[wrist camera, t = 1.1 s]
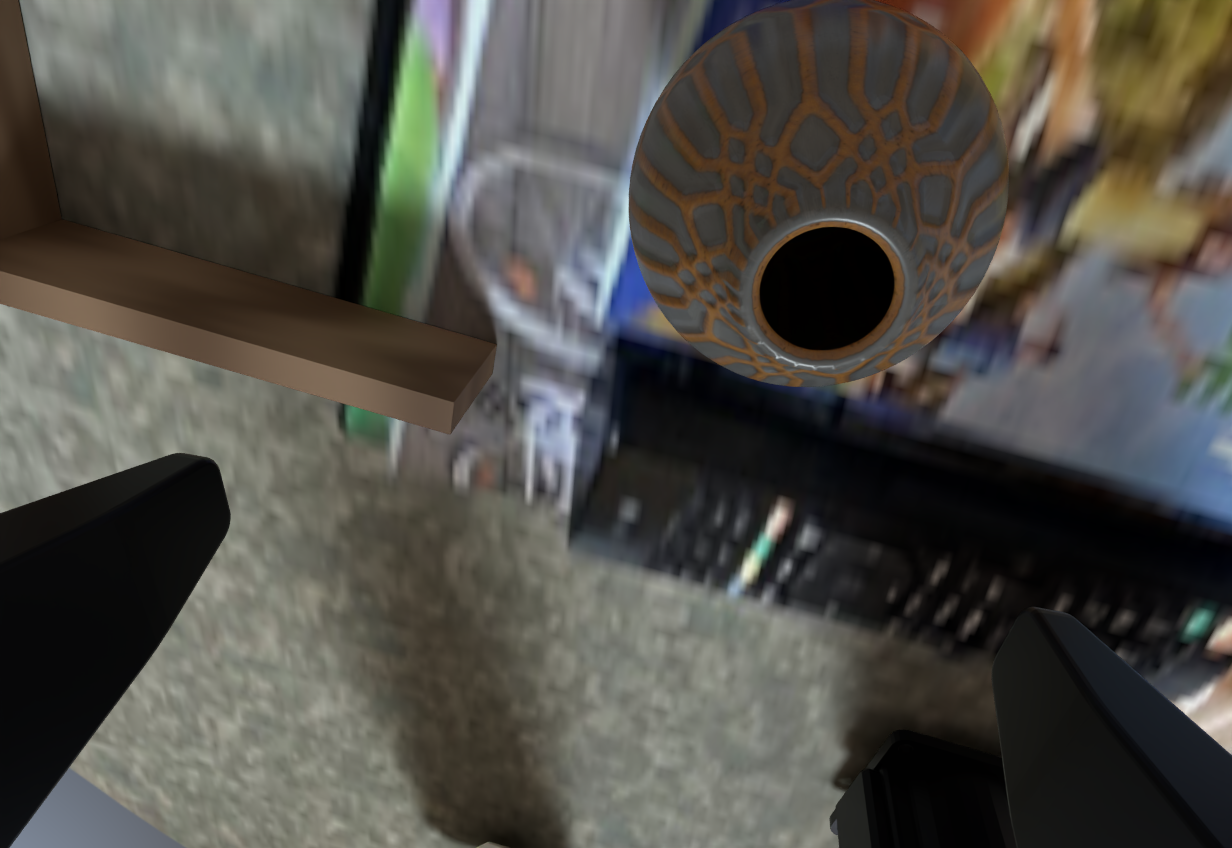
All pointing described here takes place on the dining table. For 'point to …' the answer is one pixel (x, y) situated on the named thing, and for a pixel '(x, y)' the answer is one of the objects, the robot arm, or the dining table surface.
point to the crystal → (491, 845)
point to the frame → (208, 292)
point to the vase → (819, 191)
